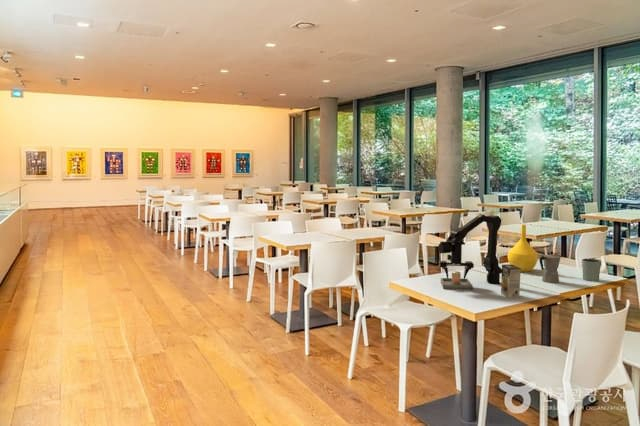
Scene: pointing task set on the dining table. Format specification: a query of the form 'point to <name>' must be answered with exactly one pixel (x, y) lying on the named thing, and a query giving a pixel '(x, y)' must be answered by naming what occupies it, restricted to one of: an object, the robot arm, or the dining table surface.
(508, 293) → the coffee box
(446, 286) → the tray
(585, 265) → the grey plant pot
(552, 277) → the coffeepot
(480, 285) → the dining table surface
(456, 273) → the shaker
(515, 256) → the vase
